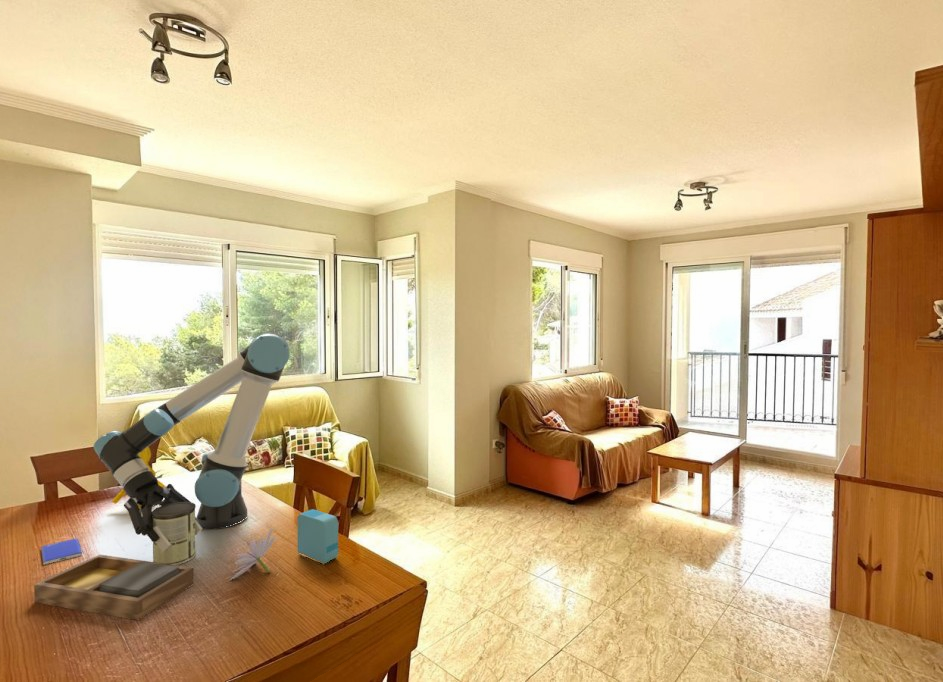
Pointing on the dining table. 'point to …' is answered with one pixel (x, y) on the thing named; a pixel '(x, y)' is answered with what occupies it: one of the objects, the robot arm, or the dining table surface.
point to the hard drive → (61, 551)
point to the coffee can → (175, 532)
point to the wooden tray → (114, 586)
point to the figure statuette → (145, 457)
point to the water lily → (253, 554)
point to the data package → (317, 535)
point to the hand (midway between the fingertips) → (183, 540)
